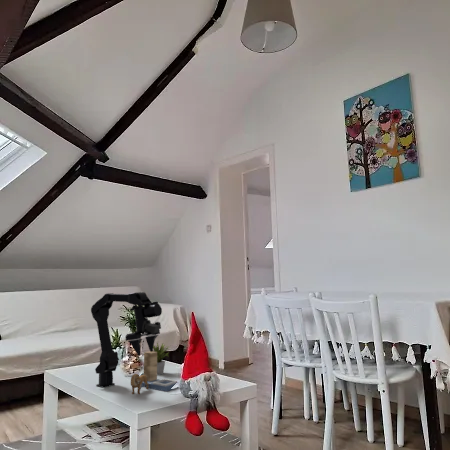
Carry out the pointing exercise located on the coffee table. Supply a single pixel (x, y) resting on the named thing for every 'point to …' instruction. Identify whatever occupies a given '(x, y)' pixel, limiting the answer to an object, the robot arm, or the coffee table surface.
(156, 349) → the house plant
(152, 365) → the oak pillar
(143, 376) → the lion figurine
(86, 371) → the coffee table surface
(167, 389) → the blueprint board
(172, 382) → the grey socket
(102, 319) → the robot arm
